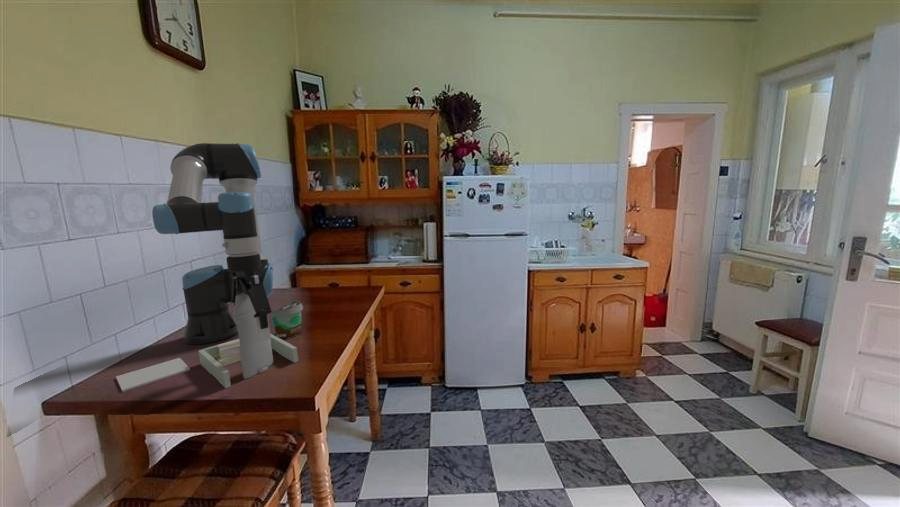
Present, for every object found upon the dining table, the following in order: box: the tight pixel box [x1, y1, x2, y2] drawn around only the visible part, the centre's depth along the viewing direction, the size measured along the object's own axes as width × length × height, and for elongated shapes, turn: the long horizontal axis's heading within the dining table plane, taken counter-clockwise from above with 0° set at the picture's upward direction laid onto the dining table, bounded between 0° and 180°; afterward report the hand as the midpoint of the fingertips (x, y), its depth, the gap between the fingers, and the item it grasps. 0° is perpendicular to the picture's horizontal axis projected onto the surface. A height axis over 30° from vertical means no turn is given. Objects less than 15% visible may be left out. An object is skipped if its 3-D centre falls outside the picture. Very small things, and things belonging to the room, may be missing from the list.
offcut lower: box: [213, 354, 241, 367], centre depth 108 cm, size 6×12×2 cm, turn 137°
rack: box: [198, 332, 299, 389], centre depth 103 cm, size 21×18×4 cm
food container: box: [270, 299, 304, 340], centre depth 123 cm, size 12×6×10 cm, turn 168°
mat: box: [115, 357, 191, 393], centre depth 99 cm, size 11×14×1 cm
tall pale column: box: [232, 292, 274, 380], centre depth 97 cm, size 11×4×22 cm, turn 163°
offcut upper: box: [216, 338, 240, 359], centre depth 107 cm, size 5×11×2 cm, turn 129°
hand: (254, 334), depth 97 cm, fingers open, 13 cm apart
